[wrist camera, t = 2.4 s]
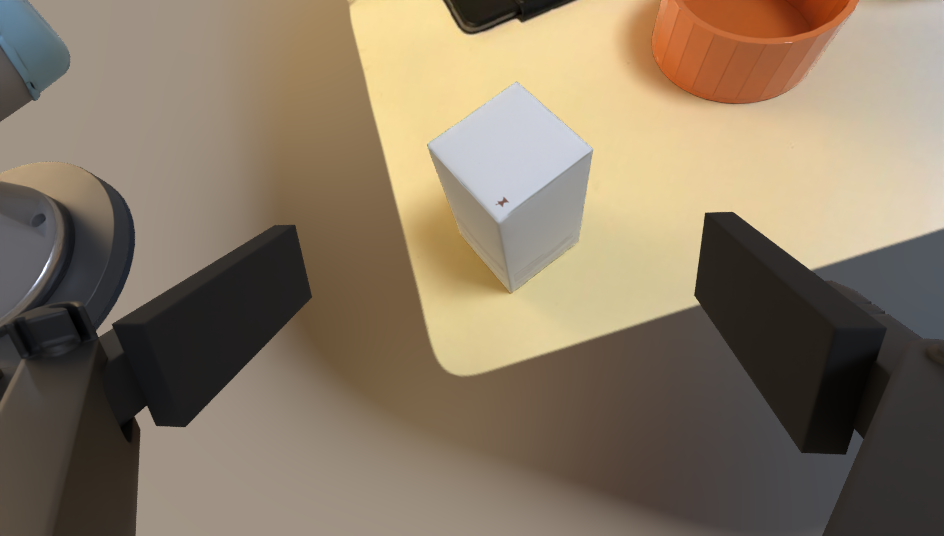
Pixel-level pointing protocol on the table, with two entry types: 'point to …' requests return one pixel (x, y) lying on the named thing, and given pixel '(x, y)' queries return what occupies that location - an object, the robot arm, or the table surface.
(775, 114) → the table surface
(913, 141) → the table surface
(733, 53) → the orange round bowl
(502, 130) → the white packaging box
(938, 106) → the table surface
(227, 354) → the robot arm
